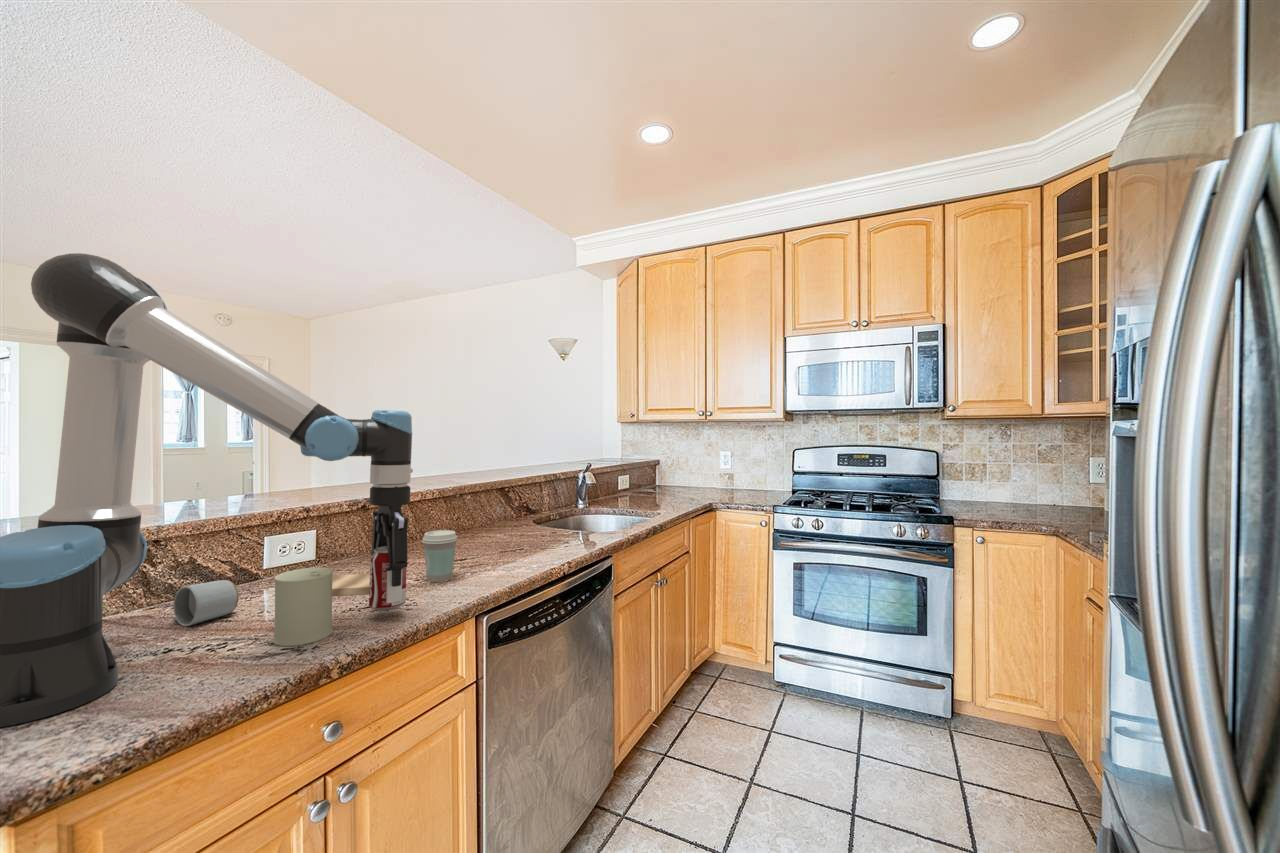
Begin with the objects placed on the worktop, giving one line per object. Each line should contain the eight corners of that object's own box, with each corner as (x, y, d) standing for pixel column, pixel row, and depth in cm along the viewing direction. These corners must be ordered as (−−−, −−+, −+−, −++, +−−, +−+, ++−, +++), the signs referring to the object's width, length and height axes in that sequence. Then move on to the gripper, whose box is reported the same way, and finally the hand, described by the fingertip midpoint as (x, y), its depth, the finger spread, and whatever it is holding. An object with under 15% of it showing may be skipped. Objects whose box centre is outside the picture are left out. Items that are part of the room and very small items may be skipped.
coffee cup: (433, 574, 136) (433, 529, 136) (463, 575, 135) (463, 530, 135) (414, 583, 128) (415, 535, 128) (446, 585, 127) (447, 536, 127)
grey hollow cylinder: (241, 614, 105) (242, 577, 106) (195, 629, 98) (196, 588, 98) (208, 609, 109) (208, 573, 109) (161, 622, 101) (162, 583, 102)
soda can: (412, 605, 106) (413, 547, 106) (380, 615, 100) (382, 553, 100) (393, 599, 110) (394, 543, 110) (362, 608, 104) (363, 549, 104)
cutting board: (304, 597, 117) (305, 590, 117) (326, 582, 128) (326, 575, 128) (380, 593, 120) (380, 586, 120) (394, 578, 132) (394, 572, 132)
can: (303, 648, 89) (304, 579, 89) (259, 643, 91) (260, 576, 91) (344, 628, 98) (345, 566, 98) (303, 625, 100) (304, 563, 100)
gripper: (427, 488, 101) (425, 605, 101) (393, 480, 115) (390, 583, 115) (387, 490, 96) (384, 613, 95) (356, 482, 110) (353, 589, 109)
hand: (387, 597), depth 105 cm, fingers closed on soda can, 7 cm apart
